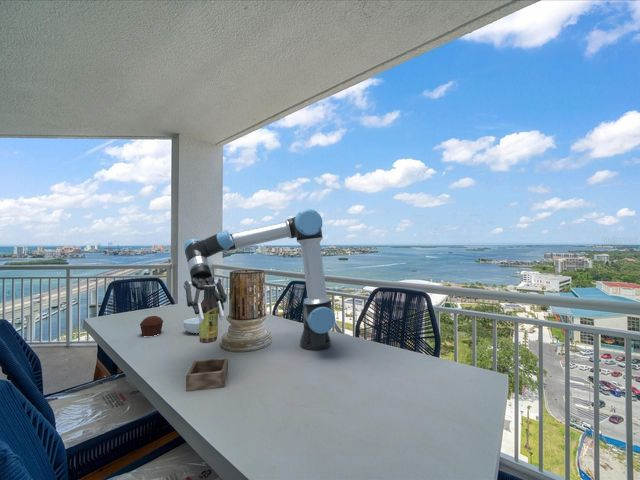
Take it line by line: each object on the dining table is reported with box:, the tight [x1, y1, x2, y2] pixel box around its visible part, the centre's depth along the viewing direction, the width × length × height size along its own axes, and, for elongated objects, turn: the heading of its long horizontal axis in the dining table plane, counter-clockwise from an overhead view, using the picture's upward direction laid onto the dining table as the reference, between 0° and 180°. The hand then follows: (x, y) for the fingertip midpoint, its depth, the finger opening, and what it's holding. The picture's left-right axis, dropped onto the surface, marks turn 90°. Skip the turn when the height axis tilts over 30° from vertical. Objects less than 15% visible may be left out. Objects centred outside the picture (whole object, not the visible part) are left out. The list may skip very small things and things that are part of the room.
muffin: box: [139, 315, 164, 337], centre depth 157 cm, size 12×11×10 cm
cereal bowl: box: [182, 317, 199, 335], centre depth 162 cm, size 17×17×7 cm
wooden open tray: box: [185, 357, 229, 392], centre depth 101 cm, size 12×13×5 cm
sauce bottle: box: [198, 284, 219, 344], centre depth 102 cm, size 6×6×20 cm
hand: (212, 319), depth 99 cm, fingers closed on sauce bottle, 6 cm apart
